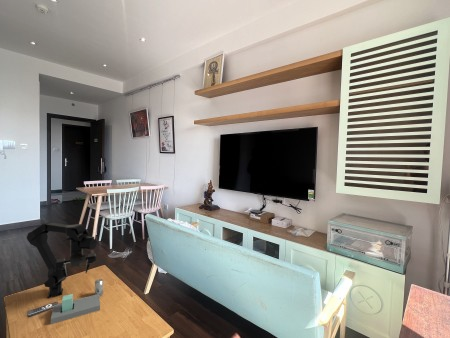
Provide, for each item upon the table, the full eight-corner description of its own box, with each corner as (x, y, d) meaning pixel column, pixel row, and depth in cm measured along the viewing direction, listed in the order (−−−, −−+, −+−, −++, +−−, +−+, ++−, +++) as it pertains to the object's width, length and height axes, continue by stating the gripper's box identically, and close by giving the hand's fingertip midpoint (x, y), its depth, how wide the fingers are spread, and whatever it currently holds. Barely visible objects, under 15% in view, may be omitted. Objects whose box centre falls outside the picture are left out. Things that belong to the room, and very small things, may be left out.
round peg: (94, 293, 125) (94, 280, 125) (102, 291, 127) (102, 278, 127) (94, 297, 122) (95, 283, 121) (103, 295, 124) (103, 281, 123)
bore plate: (53, 310, 111) (53, 305, 111) (99, 298, 121) (99, 293, 121) (50, 324, 101) (50, 319, 101) (100, 310, 112) (100, 305, 112)
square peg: (62, 311, 110) (63, 296, 110) (72, 309, 112) (72, 293, 112) (61, 316, 107) (62, 300, 106) (71, 313, 109) (72, 298, 108)
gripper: (53, 257, 109) (53, 287, 110) (96, 250, 119) (96, 277, 120) (56, 248, 119) (56, 276, 119) (95, 243, 129) (95, 268, 129)
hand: (76, 275), depth 122 cm, fingers open, 9 cm apart
